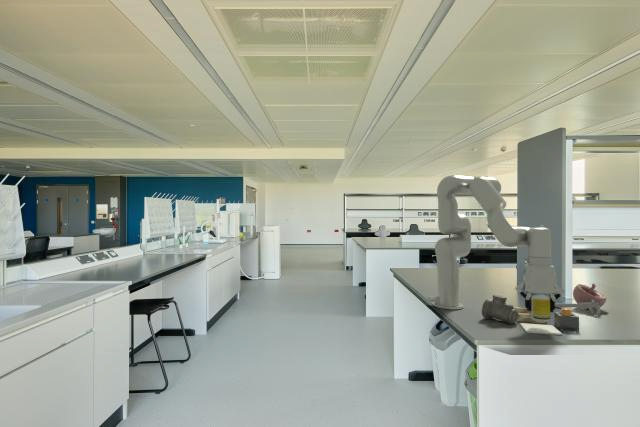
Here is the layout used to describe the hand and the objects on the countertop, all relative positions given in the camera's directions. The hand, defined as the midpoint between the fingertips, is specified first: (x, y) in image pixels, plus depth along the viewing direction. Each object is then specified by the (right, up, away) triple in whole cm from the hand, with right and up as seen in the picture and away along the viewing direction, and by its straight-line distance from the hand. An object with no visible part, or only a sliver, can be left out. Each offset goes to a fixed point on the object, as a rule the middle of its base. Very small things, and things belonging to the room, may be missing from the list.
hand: (539, 310), depth 132 cm
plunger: (+11, -5, +2) cm, 12 cm away
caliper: (+31, -8, +27) cm, 42 cm away
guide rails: (+4, -7, +14) cm, 17 cm away
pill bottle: (0, -3, 0) cm, 3 cm away
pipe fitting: (-9, -7, +11) cm, 16 cm away
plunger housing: (+11, -7, +2) cm, 13 cm away
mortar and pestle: (+40, -7, +30) cm, 51 cm away
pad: (0, -7, 0) cm, 7 cm away
